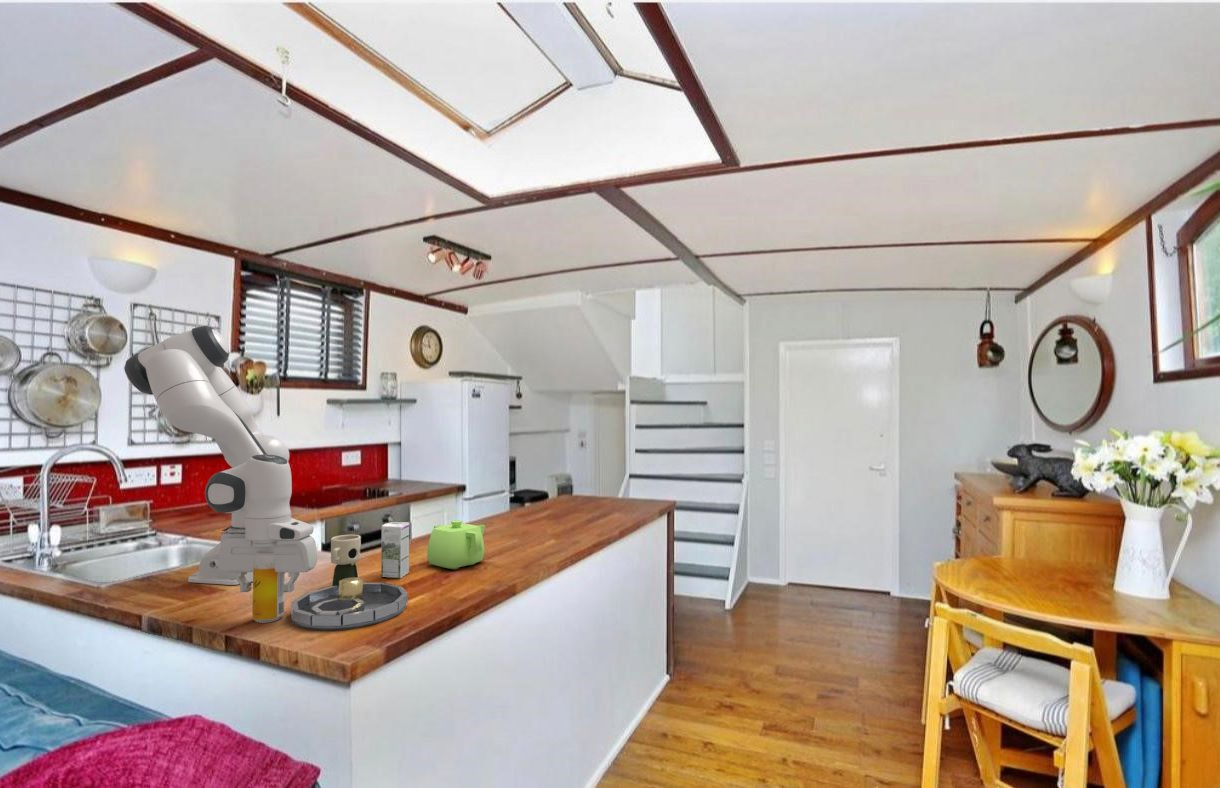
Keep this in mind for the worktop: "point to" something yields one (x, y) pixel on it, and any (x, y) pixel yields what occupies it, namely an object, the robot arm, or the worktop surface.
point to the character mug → (345, 556)
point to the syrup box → (395, 550)
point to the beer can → (267, 589)
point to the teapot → (456, 545)
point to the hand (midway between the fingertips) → (267, 591)
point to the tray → (348, 605)
